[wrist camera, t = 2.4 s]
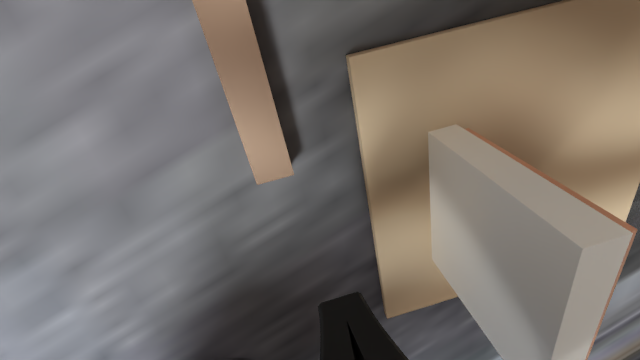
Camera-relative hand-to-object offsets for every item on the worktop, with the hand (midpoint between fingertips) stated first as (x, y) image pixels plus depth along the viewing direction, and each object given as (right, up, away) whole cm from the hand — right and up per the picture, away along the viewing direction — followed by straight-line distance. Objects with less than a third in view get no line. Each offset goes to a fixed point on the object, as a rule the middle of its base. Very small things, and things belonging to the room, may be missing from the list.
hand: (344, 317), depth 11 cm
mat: (+8, +5, +5) cm, 11 cm away
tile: (+5, +4, +4) cm, 7 cm away
